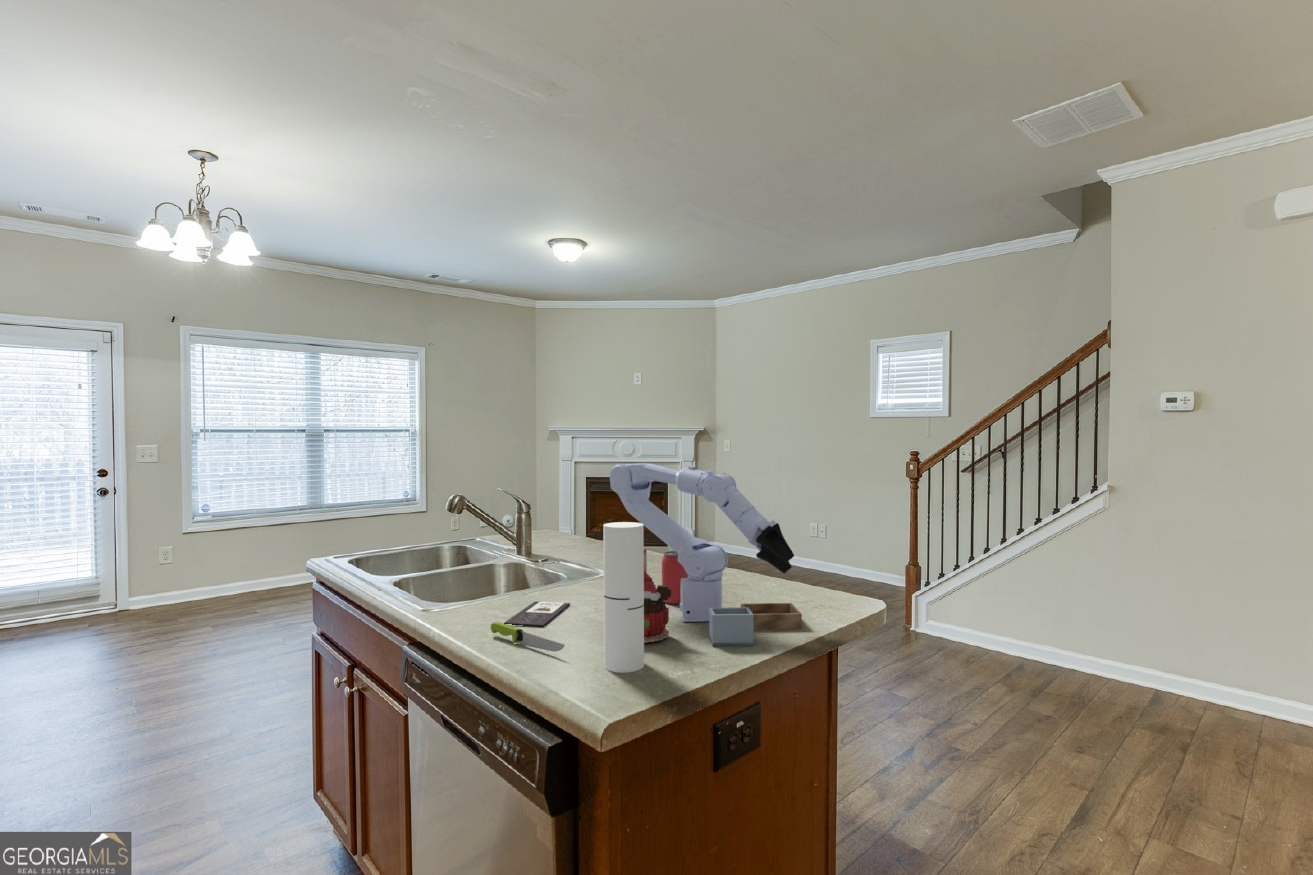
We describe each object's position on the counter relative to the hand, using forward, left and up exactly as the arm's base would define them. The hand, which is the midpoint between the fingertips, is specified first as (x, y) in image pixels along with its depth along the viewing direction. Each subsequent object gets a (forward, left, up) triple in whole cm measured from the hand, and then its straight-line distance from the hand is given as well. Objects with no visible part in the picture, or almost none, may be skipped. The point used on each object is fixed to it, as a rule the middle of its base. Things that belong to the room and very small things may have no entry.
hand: (789, 564), depth 130 cm
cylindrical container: (-34, -16, -14) cm, 40 cm away
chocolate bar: (-54, +17, -15) cm, 58 cm away
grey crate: (-13, -4, -14) cm, 19 cm away
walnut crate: (-2, +8, -15) cm, 17 cm away
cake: (-30, -1, -14) cm, 33 cm away
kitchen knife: (-53, -5, -15) cm, 55 cm away
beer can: (-22, +27, -14) cm, 37 cm away
